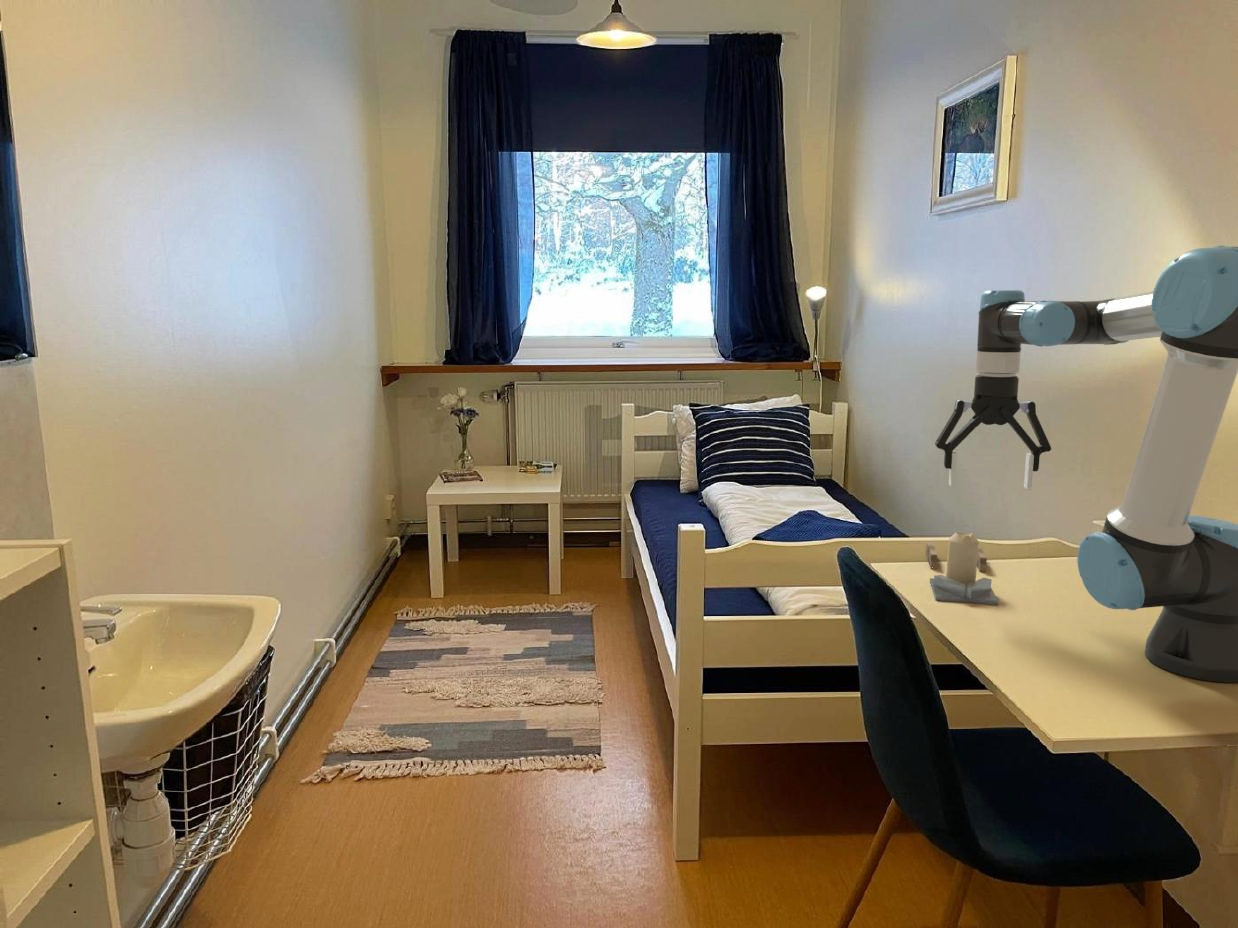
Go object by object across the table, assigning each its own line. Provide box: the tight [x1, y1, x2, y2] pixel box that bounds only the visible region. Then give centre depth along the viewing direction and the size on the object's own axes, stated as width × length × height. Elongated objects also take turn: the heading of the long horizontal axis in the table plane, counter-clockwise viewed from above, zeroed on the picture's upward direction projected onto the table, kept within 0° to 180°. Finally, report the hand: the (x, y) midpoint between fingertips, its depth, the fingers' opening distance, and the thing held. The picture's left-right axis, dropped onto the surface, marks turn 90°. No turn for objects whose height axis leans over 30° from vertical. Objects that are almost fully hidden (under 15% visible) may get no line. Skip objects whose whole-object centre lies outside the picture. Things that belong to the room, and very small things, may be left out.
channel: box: [925, 541, 988, 573], centre depth 200 cm, size 10×11×3 cm
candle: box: [945, 532, 980, 585], centre depth 184 cm, size 6×6×10 cm
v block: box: [929, 574, 999, 606], centre depth 181 cm, size 11×11×3 cm
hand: (989, 487), depth 178 cm, fingers open, 13 cm apart
